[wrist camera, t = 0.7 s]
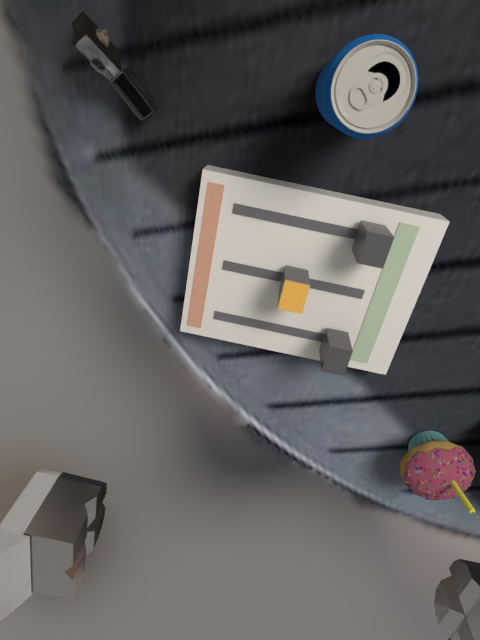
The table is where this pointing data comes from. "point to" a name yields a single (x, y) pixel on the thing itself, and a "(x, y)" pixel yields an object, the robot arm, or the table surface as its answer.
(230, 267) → the white slider switch panel
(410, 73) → the beverage can
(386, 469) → the table surface
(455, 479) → the cupcake
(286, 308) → the block
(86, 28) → the lighter
